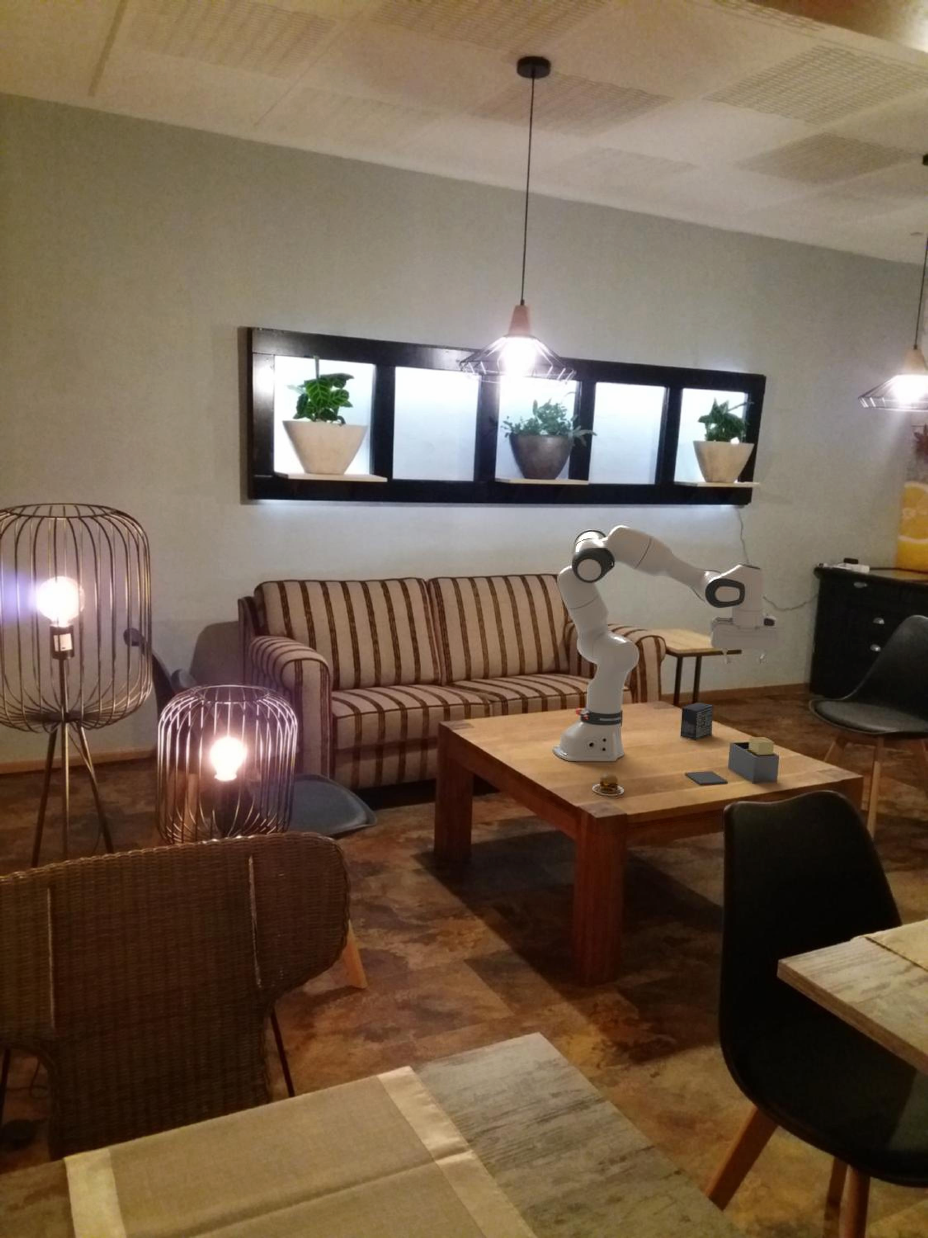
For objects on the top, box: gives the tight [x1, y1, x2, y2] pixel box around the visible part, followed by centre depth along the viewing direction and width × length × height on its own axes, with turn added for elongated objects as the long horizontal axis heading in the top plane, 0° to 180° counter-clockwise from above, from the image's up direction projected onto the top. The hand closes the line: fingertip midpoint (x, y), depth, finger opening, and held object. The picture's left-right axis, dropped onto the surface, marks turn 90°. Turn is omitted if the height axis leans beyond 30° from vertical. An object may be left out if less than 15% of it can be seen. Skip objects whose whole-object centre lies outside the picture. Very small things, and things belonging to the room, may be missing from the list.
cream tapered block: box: [748, 736, 775, 757], centre depth 281 cm, size 5×5×8 cm
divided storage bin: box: [727, 741, 780, 784], centre depth 285 cm, size 8×14×8 cm, turn 15°
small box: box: [680, 701, 714, 741], centre depth 324 cm, size 11×6×10 cm, turn 134°
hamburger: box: [592, 773, 625, 796], centre depth 268 cm, size 12×12×6 cm
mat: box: [684, 770, 728, 786], centre depth 281 cm, size 9×9×1 cm
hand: (744, 663), depth 285 cm, fingers open, 8 cm apart
